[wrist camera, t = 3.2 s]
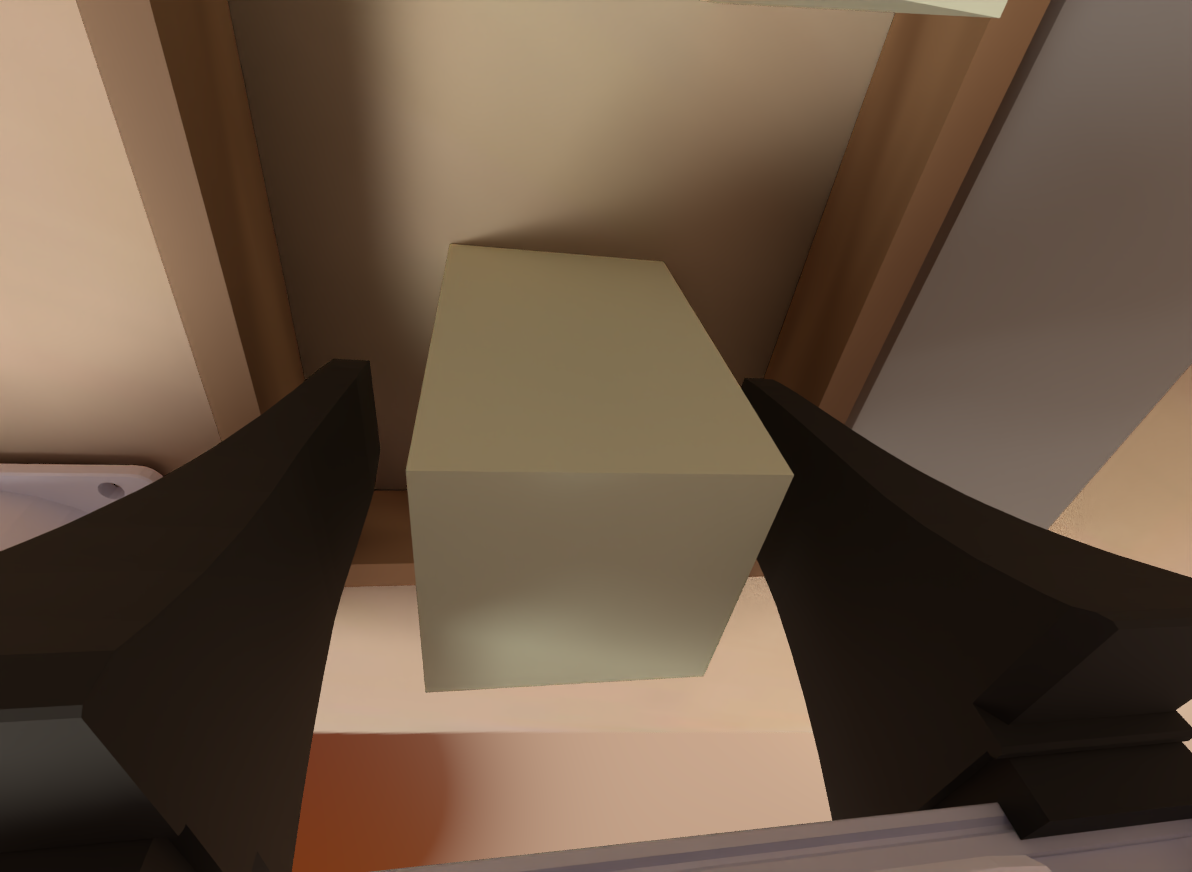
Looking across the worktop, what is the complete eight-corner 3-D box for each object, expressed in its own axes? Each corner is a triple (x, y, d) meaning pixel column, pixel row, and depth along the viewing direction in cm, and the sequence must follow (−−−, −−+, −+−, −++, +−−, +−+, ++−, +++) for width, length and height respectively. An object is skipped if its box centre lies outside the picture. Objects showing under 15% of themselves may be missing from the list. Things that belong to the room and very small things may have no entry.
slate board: (788, 515, 18) (799, 534, 17) (1063, -70, 10) (1102, -74, 9) (1027, 514, 20) (1045, 531, 19) (1438, 15, 11) (1492, 17, 11)
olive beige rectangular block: (453, 429, 14) (426, 699, 9) (449, 243, 12) (405, 470, 6) (627, 433, 15) (700, 682, 10) (663, 261, 12) (793, 474, 7)
